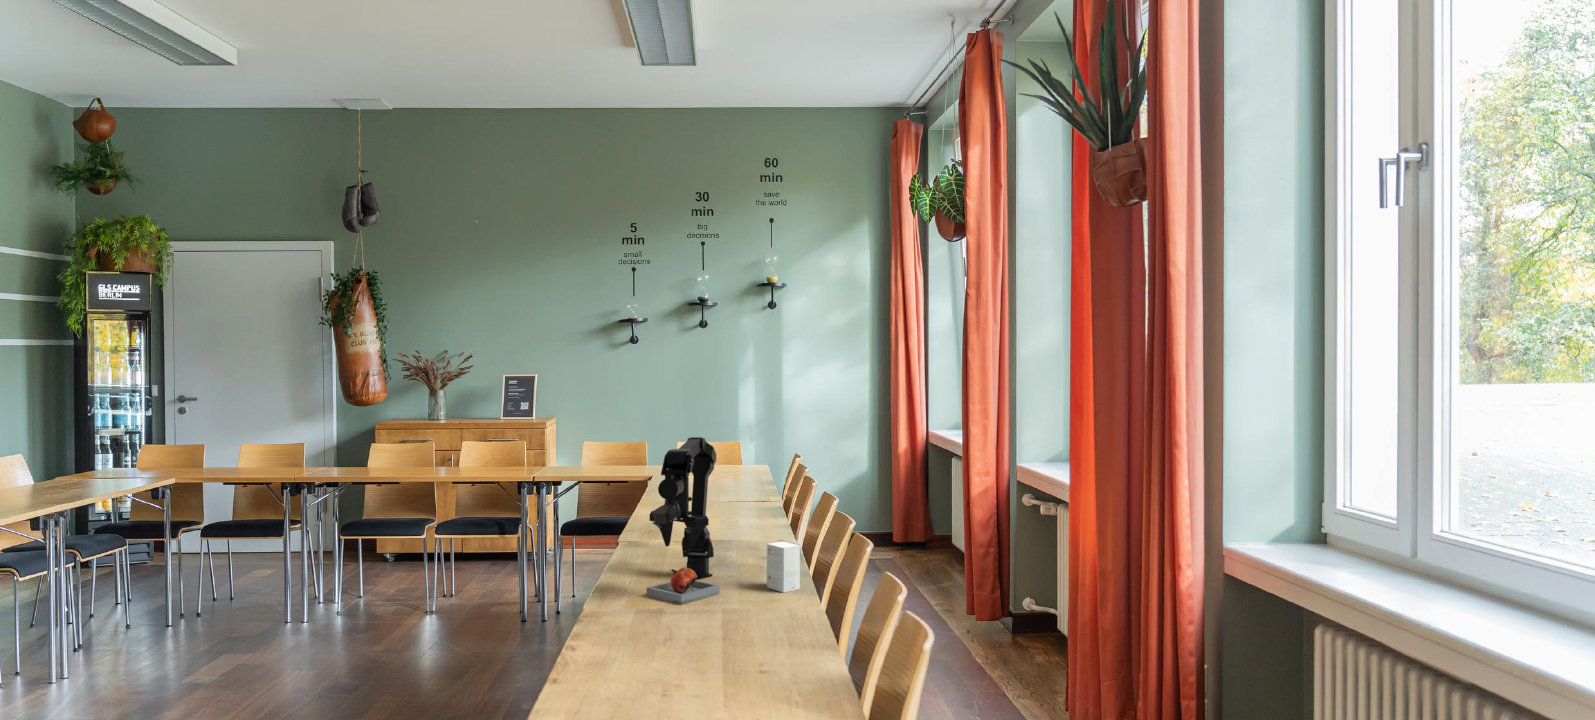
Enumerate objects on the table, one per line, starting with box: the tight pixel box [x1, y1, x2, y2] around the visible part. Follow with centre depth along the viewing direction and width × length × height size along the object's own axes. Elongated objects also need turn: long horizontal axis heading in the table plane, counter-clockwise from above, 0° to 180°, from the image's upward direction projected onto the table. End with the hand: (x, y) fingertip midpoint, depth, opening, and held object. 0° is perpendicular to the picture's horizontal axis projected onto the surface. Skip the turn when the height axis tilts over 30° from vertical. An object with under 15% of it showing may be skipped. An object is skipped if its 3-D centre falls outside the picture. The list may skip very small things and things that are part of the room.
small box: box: [766, 541, 801, 593], centre depth 275 cm, size 8×6×13 cm
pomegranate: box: [670, 566, 697, 594], centre depth 267 cm, size 7×7×10 cm
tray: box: [646, 579, 720, 605], centre depth 267 cm, size 15×14×2 cm
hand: (678, 548), depth 270 cm, fingers open, 9 cm apart
